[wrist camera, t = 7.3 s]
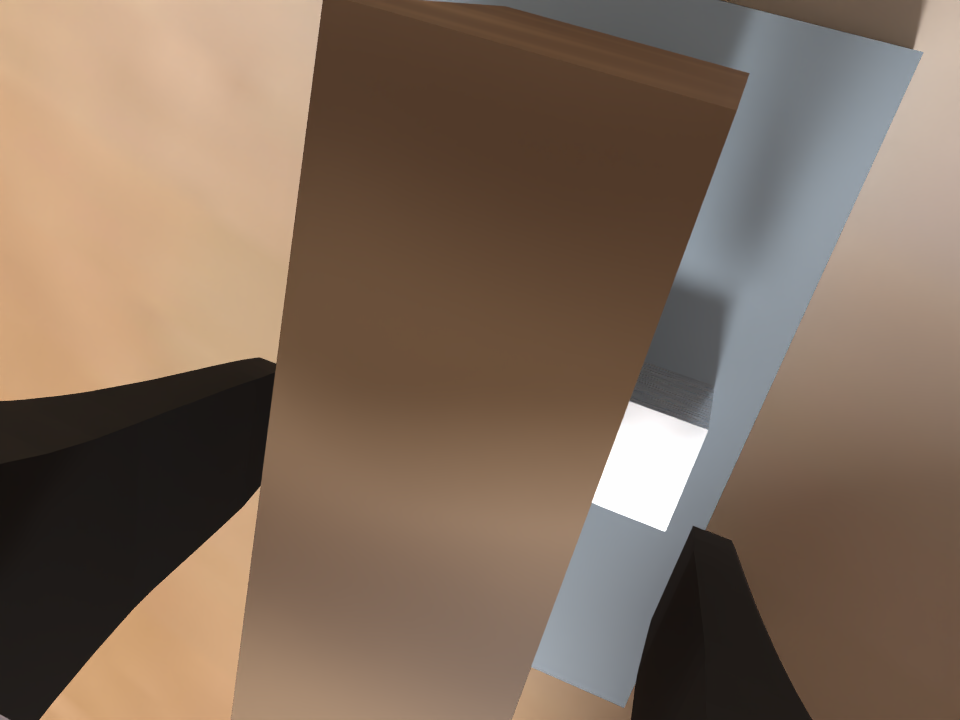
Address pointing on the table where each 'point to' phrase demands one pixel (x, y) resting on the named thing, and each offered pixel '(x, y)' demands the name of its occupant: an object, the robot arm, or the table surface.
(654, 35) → the blue-grey flat rectangular panel
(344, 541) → the walnut plank
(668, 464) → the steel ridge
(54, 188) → the table surface
